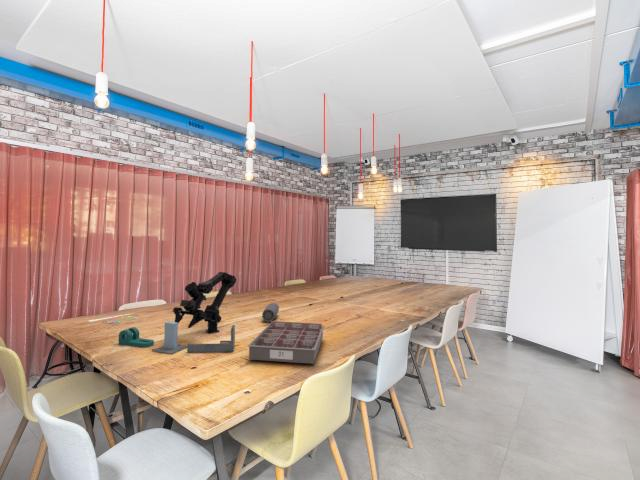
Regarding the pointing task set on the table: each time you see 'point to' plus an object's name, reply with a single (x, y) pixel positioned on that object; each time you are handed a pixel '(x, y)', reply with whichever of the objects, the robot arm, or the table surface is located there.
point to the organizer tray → (287, 342)
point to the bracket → (133, 338)
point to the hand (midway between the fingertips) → (181, 326)
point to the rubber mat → (169, 351)
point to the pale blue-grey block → (171, 335)
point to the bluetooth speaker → (270, 312)
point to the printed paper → (115, 320)
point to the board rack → (214, 345)
